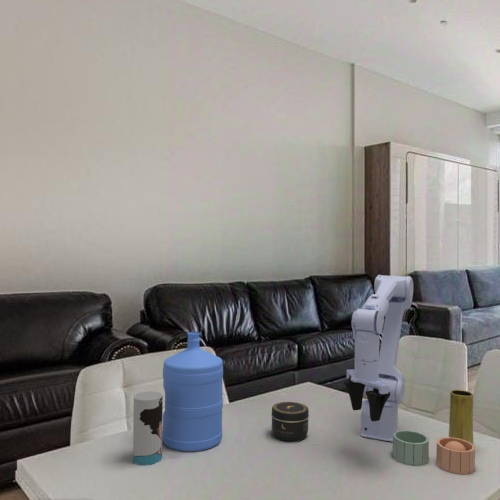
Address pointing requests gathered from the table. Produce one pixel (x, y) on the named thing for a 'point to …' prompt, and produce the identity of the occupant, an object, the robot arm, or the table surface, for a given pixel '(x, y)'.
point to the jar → (290, 421)
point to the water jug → (192, 398)
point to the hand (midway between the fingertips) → (365, 414)
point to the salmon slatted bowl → (455, 456)
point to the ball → (455, 446)
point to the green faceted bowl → (410, 447)
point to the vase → (461, 415)
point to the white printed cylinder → (147, 428)
